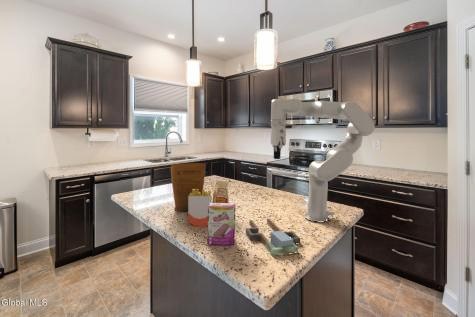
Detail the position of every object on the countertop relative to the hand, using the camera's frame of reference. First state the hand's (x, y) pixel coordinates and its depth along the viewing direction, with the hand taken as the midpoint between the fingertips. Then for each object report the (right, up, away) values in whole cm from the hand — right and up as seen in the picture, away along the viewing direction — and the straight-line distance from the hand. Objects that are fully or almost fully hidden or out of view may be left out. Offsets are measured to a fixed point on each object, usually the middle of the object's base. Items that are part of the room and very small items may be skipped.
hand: (276, 158), depth 127 cm
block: (-3, -36, -30) cm, 47 cm away
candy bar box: (-27, -35, -27) cm, 52 cm away
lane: (-6, -34, -20) cm, 40 cm away
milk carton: (-30, -31, +6) cm, 44 cm away
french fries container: (-39, -33, -8) cm, 51 cm away
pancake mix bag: (-49, -30, +13) cm, 59 cm away
